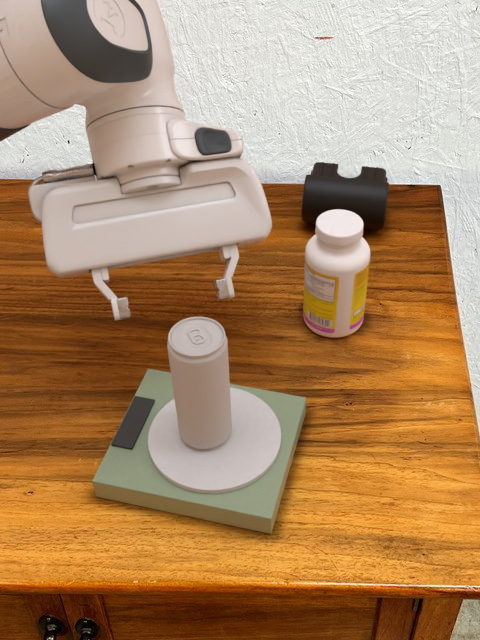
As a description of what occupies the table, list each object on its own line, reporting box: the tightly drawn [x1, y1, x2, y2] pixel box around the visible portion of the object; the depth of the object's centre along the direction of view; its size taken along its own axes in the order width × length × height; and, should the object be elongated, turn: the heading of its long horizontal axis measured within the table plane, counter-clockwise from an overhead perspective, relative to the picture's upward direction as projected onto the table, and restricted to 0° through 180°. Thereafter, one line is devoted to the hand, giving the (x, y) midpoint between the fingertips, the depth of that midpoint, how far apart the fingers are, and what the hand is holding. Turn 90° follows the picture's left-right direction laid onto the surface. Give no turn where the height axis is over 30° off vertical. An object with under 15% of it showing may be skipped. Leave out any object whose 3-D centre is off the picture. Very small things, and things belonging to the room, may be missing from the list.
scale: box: [91, 368, 307, 535], centre depth 71 cm, size 16×14×3 cm
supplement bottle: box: [302, 209, 371, 339], centre depth 80 cm, size 7×7×13 cm
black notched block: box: [301, 161, 390, 231], centre depth 95 cm, size 10×7×7 cm
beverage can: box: [167, 316, 232, 449], centre depth 66 cm, size 5×5×12 cm
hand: (175, 309), depth 70 cm, fingers open, 8 cm apart
